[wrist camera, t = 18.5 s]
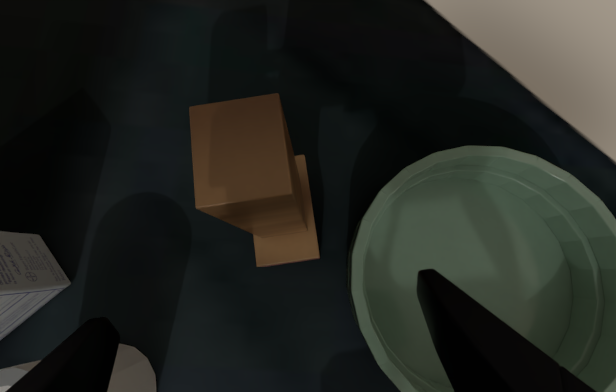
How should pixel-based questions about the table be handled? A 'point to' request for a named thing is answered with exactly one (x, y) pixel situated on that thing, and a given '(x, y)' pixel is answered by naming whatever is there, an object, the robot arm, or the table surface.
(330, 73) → the table surface
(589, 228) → the bowl
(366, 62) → the table surface
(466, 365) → the robot arm
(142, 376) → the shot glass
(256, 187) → the brown stepped block
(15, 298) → the medicine box
